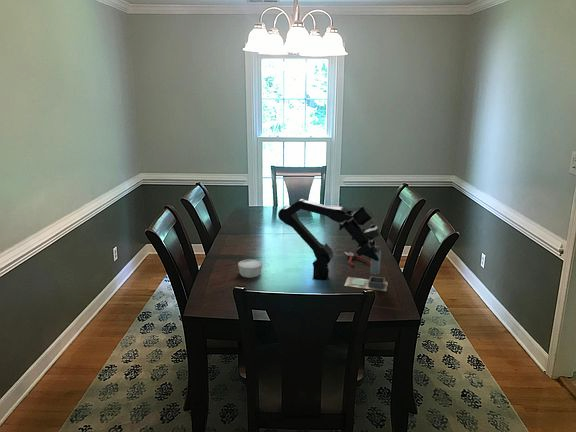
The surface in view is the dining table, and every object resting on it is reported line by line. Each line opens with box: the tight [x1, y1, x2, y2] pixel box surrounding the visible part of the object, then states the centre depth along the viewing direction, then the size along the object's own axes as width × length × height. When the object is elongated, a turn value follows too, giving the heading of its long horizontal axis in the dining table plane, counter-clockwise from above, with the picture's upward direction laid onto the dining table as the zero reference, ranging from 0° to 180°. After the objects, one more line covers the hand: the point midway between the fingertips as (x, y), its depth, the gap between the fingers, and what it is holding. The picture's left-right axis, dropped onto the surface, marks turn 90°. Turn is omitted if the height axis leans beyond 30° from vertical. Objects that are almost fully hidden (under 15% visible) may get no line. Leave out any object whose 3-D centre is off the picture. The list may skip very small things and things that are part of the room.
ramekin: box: [237, 259, 263, 279], centre depth 212 cm, size 11×11×5 cm
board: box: [344, 276, 389, 292], centre depth 203 cm, size 18×10×1 cm, turn 74°
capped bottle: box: [369, 245, 382, 275], centre depth 199 cm, size 4×4×12 cm
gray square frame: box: [368, 275, 386, 289], centre depth 201 cm, size 7×7×2 cm
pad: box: [351, 279, 365, 286], centre depth 204 cm, size 6×6×1 cm
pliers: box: [344, 251, 371, 268], centre depth 232 cm, size 12×20×3 cm, turn 15°
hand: (379, 258), depth 198 cm, fingers closed on capped bottle, 4 cm apart
